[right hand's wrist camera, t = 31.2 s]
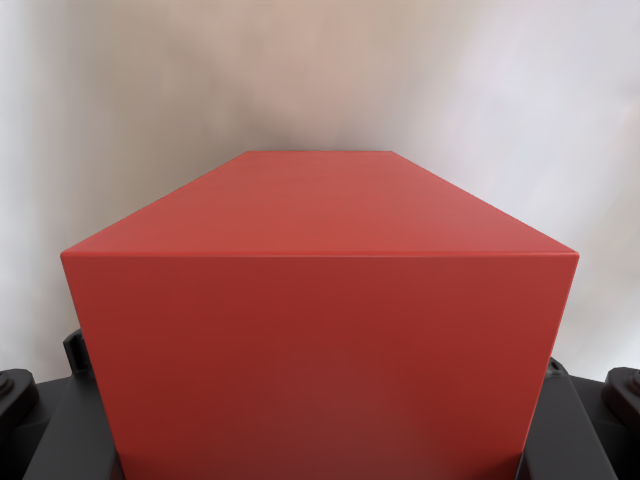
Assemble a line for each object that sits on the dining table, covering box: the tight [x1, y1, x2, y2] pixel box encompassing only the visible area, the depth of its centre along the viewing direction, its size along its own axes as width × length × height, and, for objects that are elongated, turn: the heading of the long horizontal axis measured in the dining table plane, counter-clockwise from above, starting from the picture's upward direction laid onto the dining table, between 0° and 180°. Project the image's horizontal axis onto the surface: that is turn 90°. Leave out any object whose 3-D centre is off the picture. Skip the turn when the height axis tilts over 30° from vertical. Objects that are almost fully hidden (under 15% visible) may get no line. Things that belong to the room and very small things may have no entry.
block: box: [60, 151, 579, 480], centre depth 11 cm, size 9×6×12 cm
